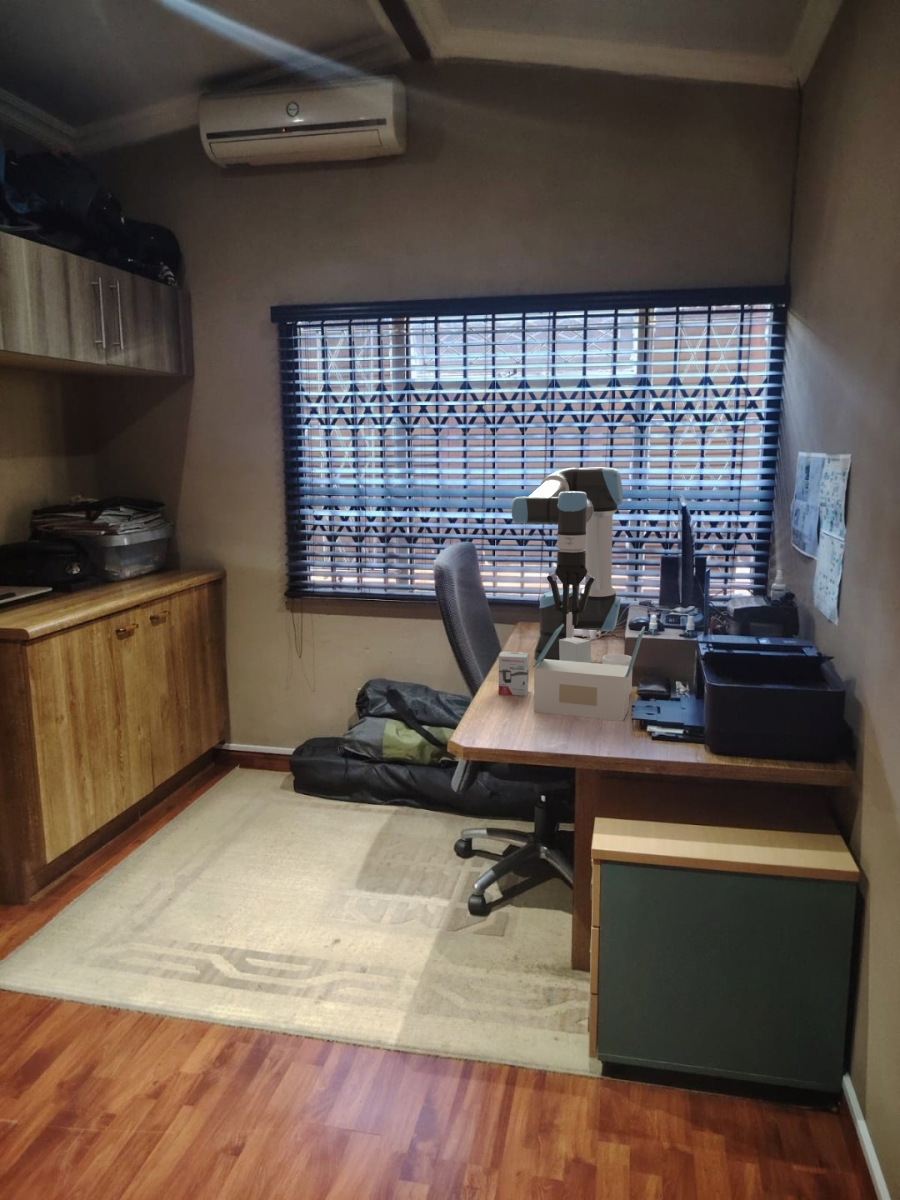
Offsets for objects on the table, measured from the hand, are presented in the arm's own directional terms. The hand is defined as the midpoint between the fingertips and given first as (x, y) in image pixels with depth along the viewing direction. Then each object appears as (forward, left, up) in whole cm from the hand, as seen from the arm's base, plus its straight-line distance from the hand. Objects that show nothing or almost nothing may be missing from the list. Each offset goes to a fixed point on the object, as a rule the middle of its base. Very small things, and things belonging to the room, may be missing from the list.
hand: (570, 636), depth 209 cm
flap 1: (0, -6, -3) cm, 6 cm away
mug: (-17, +11, -21) cm, 29 cm away
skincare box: (-20, -2, -21) cm, 29 cm away
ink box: (-9, -18, -21) cm, 29 cm away
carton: (0, +4, -20) cm, 21 cm away
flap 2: (0, +17, -3) cm, 18 cm away
